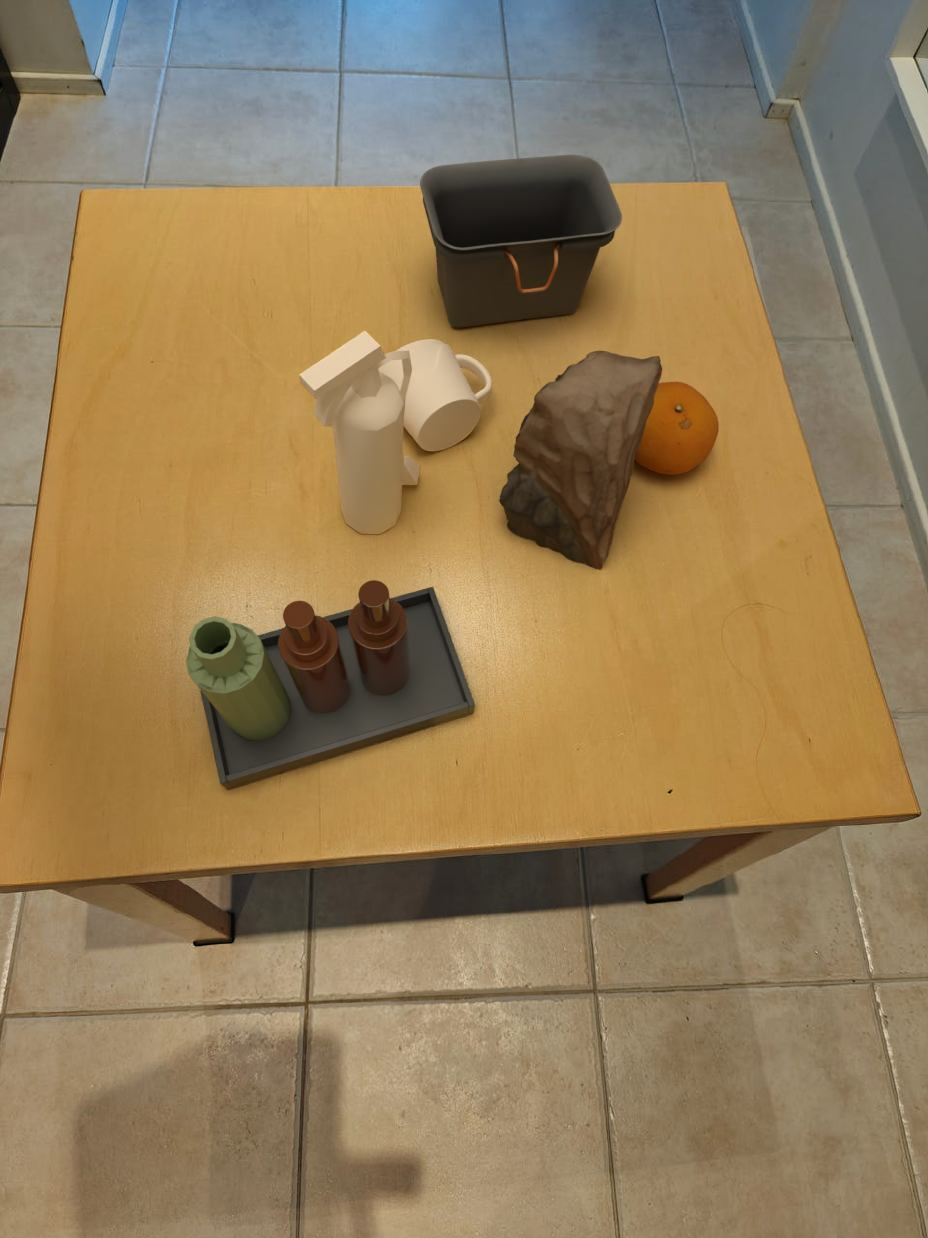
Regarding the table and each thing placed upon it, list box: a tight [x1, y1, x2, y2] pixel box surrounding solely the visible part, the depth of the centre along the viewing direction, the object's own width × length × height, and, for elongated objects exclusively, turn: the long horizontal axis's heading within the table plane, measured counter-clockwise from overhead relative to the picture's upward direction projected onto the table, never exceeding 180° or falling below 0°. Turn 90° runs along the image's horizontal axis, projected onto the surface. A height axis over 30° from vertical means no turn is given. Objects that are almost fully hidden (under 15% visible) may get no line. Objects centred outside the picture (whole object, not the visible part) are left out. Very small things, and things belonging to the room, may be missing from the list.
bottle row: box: [278, 579, 410, 713], centre depth 69 cm, size 11×5×18 cm, turn 109°
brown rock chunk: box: [498, 350, 663, 570], centre depth 78 cm, size 13×13×20 cm
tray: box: [199, 586, 476, 791], centre depth 76 cm, size 24×13×3 cm, turn 109°
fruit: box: [634, 381, 720, 476], centre depth 87 cm, size 10×10×8 cm
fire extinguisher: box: [298, 330, 421, 535], centre depth 75 cm, size 7×12×25 cm, turn 129°
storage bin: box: [419, 154, 623, 329], centre depth 93 cm, size 21×16×14 cm
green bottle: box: [185, 616, 291, 741], centre depth 67 cm, size 6×6×18 cm
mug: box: [378, 338, 493, 452], centre depth 88 cm, size 12×9×8 cm
